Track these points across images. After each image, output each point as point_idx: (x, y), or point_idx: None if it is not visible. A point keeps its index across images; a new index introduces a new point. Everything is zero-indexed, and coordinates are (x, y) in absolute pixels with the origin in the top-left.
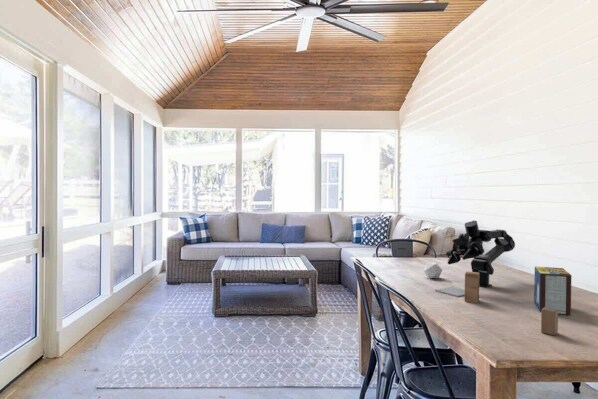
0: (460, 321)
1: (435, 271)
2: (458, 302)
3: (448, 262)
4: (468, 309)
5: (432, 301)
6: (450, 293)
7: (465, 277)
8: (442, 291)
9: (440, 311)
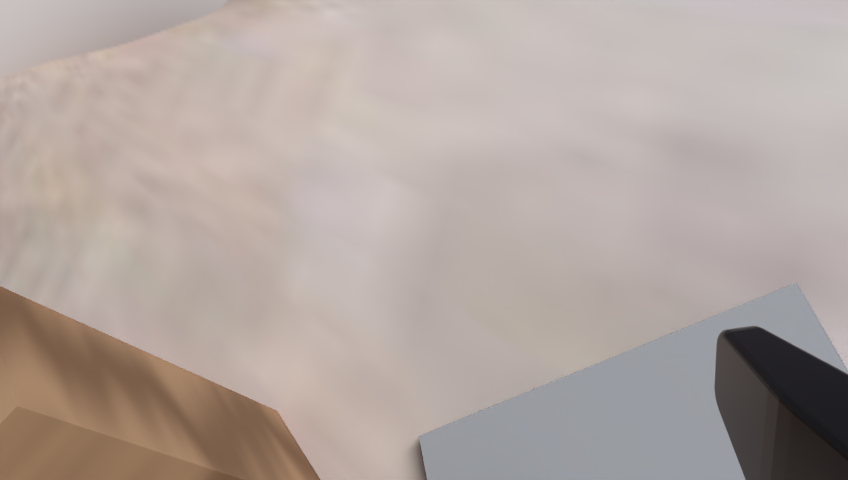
0: (49, 145)
1: None
2: (276, 324)
3: (731, 353)
4: (128, 301)
5: (381, 105)
6: (538, 401)
7: (33, 309)
8: (669, 342)
9: (190, 94)
